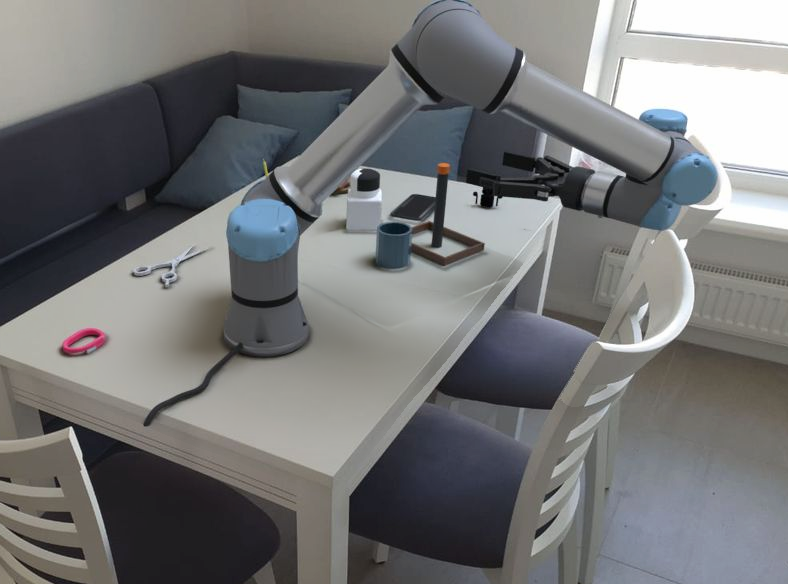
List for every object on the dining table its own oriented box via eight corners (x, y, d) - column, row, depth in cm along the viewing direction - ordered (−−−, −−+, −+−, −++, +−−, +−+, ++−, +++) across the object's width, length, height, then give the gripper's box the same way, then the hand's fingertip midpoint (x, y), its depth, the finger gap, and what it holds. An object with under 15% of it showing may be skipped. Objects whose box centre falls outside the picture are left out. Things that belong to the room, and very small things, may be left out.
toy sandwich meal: (368, 183, 208) (369, 166, 205) (339, 199, 199) (340, 181, 196) (329, 174, 214) (329, 157, 212) (299, 189, 205) (299, 171, 203)
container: (380, 220, 187) (382, 165, 180) (380, 233, 181) (382, 177, 174) (347, 219, 188) (348, 165, 181) (346, 232, 182) (347, 176, 174)
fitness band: (80, 359, 138) (78, 352, 137) (56, 350, 141) (54, 343, 140) (112, 339, 144) (111, 331, 143) (89, 330, 146) (87, 323, 146)
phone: (442, 198, 195) (420, 219, 184) (442, 202, 195) (420, 223, 185) (412, 193, 198) (388, 213, 187) (412, 197, 199) (388, 218, 188)
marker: (436, 249, 171) (444, 167, 161) (428, 246, 173) (435, 164, 163) (444, 246, 173) (452, 165, 163) (436, 243, 174) (443, 162, 164)
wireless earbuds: (471, 206, 193) (473, 186, 190) (472, 203, 195) (475, 183, 192) (500, 209, 191) (503, 189, 188) (502, 206, 193) (504, 185, 190)
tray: (444, 269, 165) (445, 258, 163) (389, 244, 176) (390, 234, 174) (483, 253, 171) (484, 243, 170) (428, 230, 182) (429, 220, 180)
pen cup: (392, 275, 163) (394, 238, 159) (368, 263, 168) (369, 227, 163) (417, 265, 167) (419, 229, 162) (393, 254, 171) (395, 219, 167)
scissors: (125, 273, 164) (184, 238, 178) (126, 277, 165) (184, 241, 179) (167, 284, 159) (223, 247, 174) (167, 288, 160) (223, 250, 174)
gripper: (553, 231, 139) (449, 202, 151) (614, 192, 154) (515, 169, 166) (560, 189, 135) (453, 163, 147) (622, 153, 150) (520, 132, 162)
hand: (486, 166), depth 156 cm, fingers open, 13 cm apart
